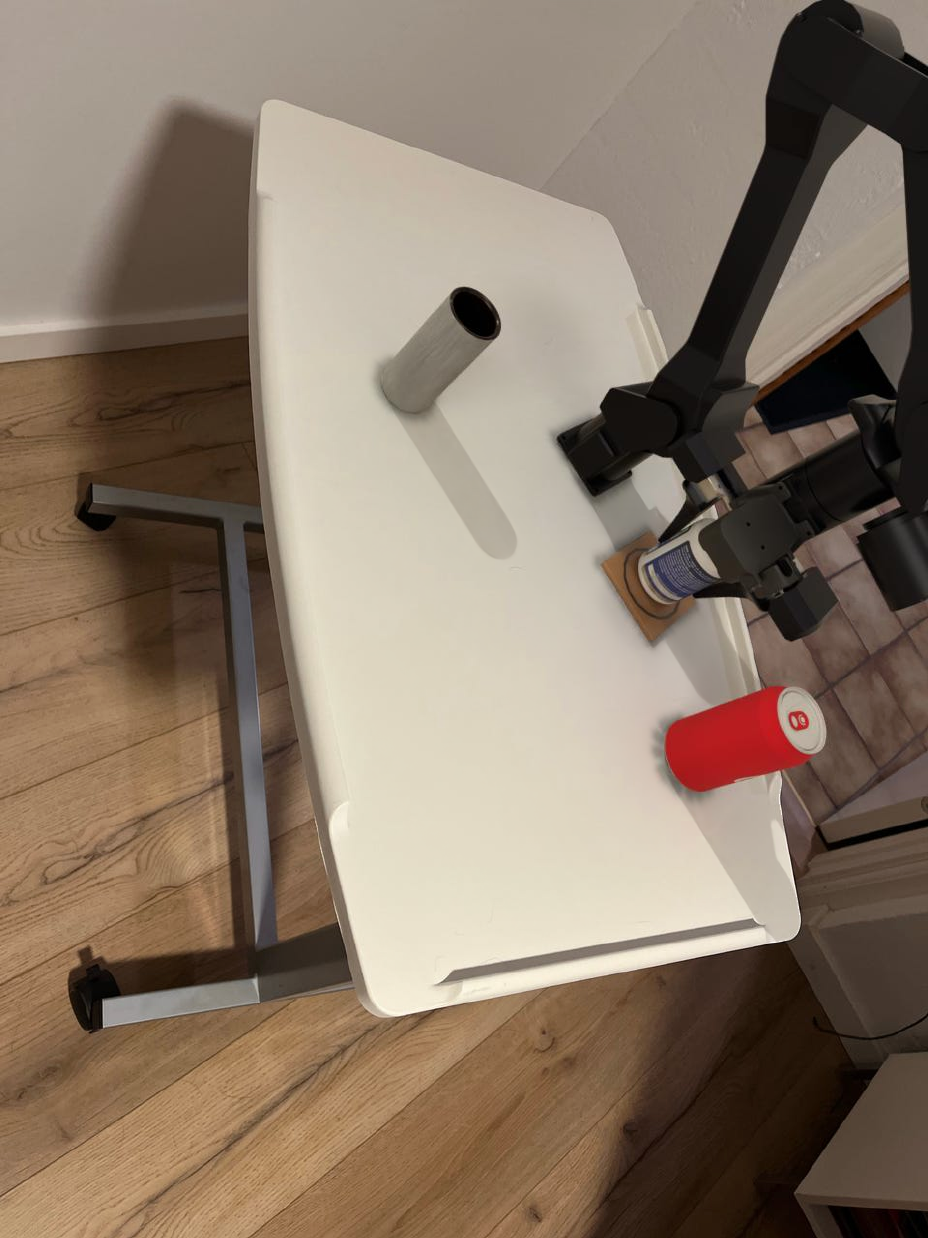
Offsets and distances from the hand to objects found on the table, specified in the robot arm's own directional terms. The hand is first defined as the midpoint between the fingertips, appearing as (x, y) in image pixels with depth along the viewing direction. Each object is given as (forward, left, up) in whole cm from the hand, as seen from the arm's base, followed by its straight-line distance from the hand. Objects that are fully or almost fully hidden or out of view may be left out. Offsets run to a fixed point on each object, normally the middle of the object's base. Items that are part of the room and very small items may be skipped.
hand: (677, 567), depth 80 cm
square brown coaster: (+1, 0, -3) cm, 3 cm away
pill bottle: (0, 0, -3) cm, 3 cm away
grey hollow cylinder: (+14, -24, -3) cm, 28 cm away
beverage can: (+9, +14, -3) cm, 17 cm away
